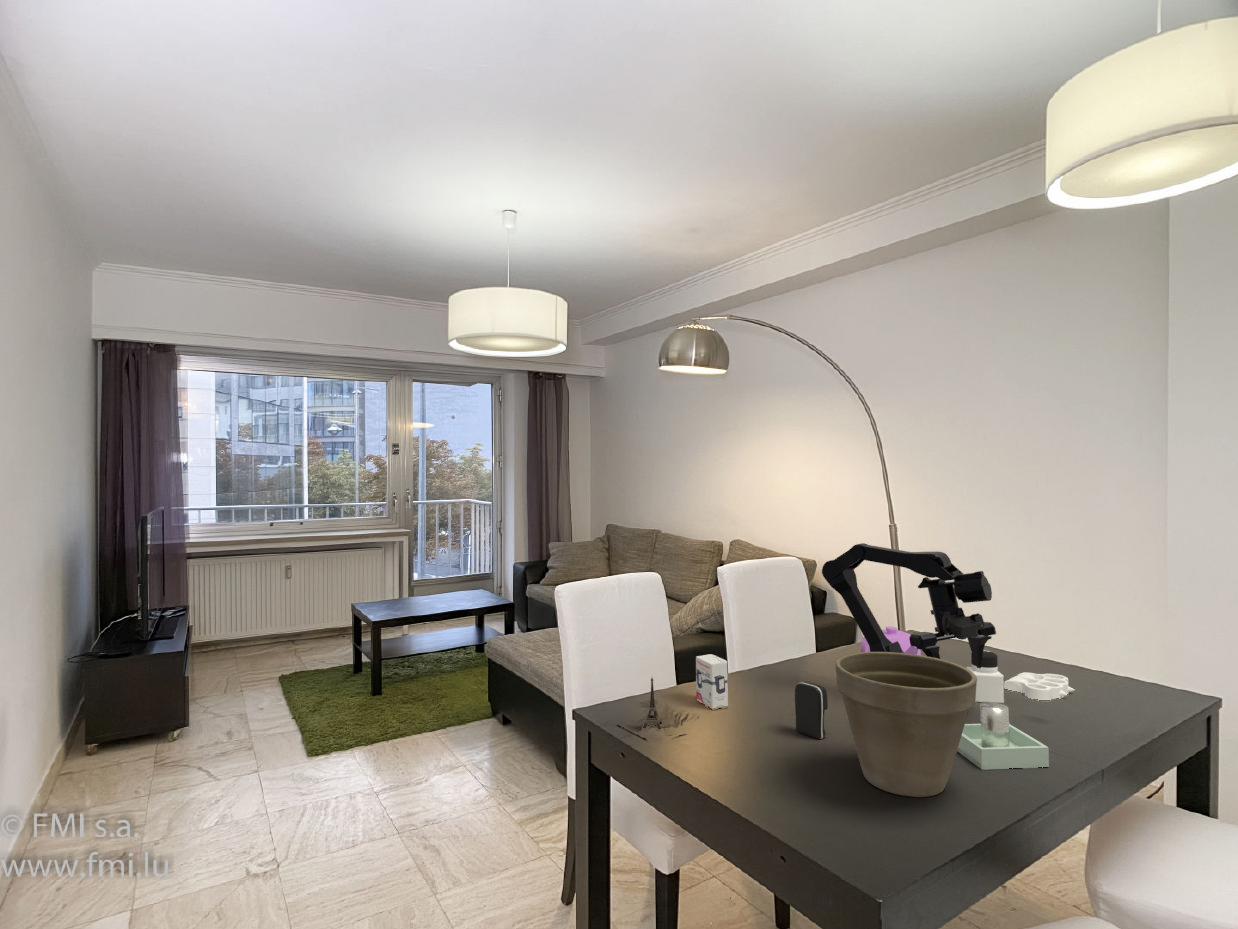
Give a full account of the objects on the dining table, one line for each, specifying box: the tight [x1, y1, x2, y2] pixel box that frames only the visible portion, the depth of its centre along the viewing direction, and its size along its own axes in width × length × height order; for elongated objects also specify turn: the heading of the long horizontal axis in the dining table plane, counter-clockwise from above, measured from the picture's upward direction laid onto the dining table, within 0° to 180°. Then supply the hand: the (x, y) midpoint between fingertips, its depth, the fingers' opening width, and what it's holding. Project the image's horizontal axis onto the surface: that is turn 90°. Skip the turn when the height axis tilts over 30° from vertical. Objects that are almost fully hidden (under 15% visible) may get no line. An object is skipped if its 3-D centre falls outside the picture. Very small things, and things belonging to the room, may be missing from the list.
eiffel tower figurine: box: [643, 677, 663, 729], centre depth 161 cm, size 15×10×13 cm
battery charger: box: [794, 681, 829, 740], centre depth 157 cm, size 7×4×11 cm, turn 38°
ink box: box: [695, 654, 729, 708], centre depth 178 cm, size 8×5×12 cm, turn 23°
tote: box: [957, 723, 1050, 771], centre depth 144 cm, size 14×14×4 cm
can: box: [979, 702, 1010, 748], centre depth 144 cm, size 5×5×9 cm
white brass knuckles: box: [1004, 672, 1076, 701], centre depth 186 cm, size 3×18×15 cm
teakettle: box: [860, 626, 922, 656], centre depth 209 cm, size 17×17×12 cm
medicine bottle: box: [965, 650, 1005, 704], centre depth 180 cm, size 7×7×12 cm
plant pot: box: [835, 651, 977, 798], centre depth 133 cm, size 25×25×22 cm
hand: (960, 671), depth 163 cm, fingers open, 9 cm apart
